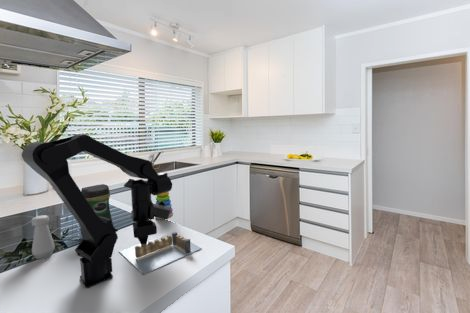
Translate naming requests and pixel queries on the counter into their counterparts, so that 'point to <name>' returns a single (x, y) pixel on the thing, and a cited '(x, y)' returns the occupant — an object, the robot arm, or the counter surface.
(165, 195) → the stacking toy
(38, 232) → the salt shaker
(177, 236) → the fixed fence section
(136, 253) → the folding fence panel
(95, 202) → the coffee jar
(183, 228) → the counter surface
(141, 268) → the card
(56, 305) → the counter surface
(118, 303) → the counter surface
